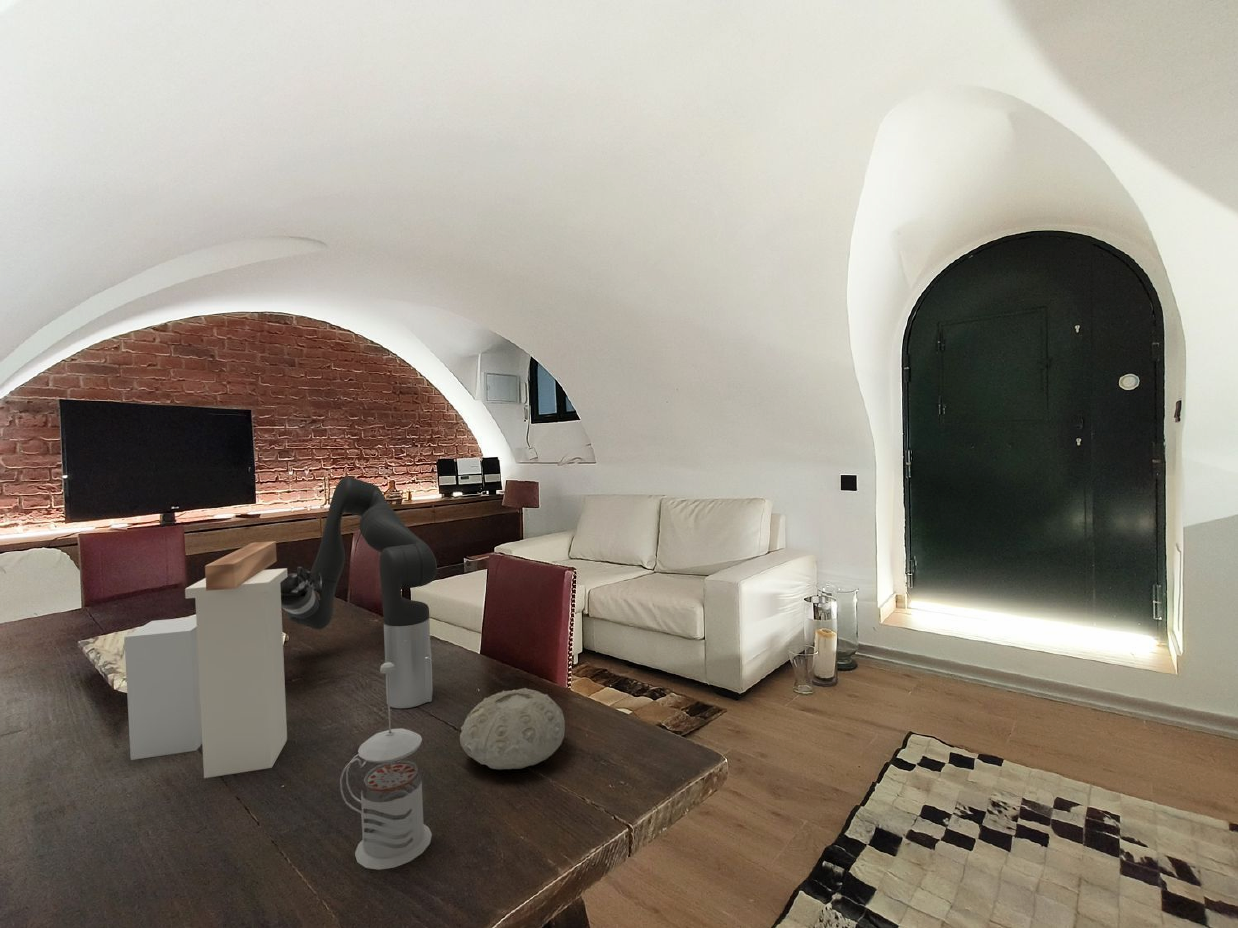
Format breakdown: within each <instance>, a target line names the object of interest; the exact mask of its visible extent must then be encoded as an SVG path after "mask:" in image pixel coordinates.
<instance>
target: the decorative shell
mask: <svg viewBox="0 0 1238 928" xmlns="http://www.w3.org/2000/svg"><path fill="white" fill-rule="evenodd" d="M565 727H566V726H565V716H564V713H563V710H562V708H560V706H559V705H558V703H556V701H554V700H553V698H552V697H550V696H549V695H548V694H547V693H545V694H544V693H542V692H540V691H537V690H535V689H529V688H527V687H524V688H519V689H512V690H502V691H500V692H497V693H495V694H491V695H490V696H488V697H484V698H483V700H482V701H480V702H479V703H478V704H477V705H476V706H474V707H473V708H472V710H470V712H469V713H468V714H467V715H466V718H465V719H464V722H463V725H462V726H461V727H460V730H461V732H460V735H459V742H460V746H461V747H462V749H463V751H464V752H465V754H466V755H467V756H469V757H470V758H472V759H473V760H474V761H476V762H478V763H479V764H480V765H486V766H487V767H488V768H490V769H493V770H512V769H513V770H515V769H516V770H518V769H519V770H520V769H524V768H526V767H531V766H535V765H537V764H539V763H541V762H543V761H546V760H547V759H549V757H551V756H552V755H553V754H554V753H555V752H556V751H557V750H558V749H559V747H560V746H561V745H562V743H563V740H564V738H565V731H566V729H565Z"/></svg>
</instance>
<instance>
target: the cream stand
mask: <svg viewBox="0 0 1238 928" xmlns="http://www.w3.org/2000/svg"><path fill="white" fill-rule="evenodd" d="M287 574H288V568H287V567H286V568H275V569H274V568H273V569H264V570H262V571H261V572H259V573H258V574H256V575H255V576H253V577H252V578H250V579H249V580H247V581H246V582H244V583H243V584H241V585H240V586H238V587H237V588H235V589H223V590H210V591H206V577H204V578H202V579H201V580H198V581H196V582H195V583H193V584H191V585H190V586H188V587H186V588H185V589H184V594H185V595H184V596H185V597H184V598H185V599H195V617H196V623H197V643H198V664H199V684H200V705H201V725H202V744H201V746H202V760H203V761H202V763H203V765H202V766H203V779H208V778H215V777H221V776H225V775H226V776H227V775H233V774H240V773H246V772H252V771H259V770H265V769H272V768H273V766H274V764H275V762H276V761H277V759H278V757H279V755H280V754H281V752H282V750H283V748H284V746H285V745H286V743H287V741H288V730H287V706H286V685H285V682H286V681H285V679H286V678H285V661H284V641H283V640H284V639H283V638H284V637H283V615H282V607H281V588H280V582H282V581H283V580H284V579H285V578H287V577H288V576H287Z"/></svg>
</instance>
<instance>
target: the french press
mask: <svg viewBox="0 0 1238 928" xmlns="http://www.w3.org/2000/svg"><path fill="white" fill-rule="evenodd" d="M394 671H395V666H394V664H392V663H391V662H386V663H385V662H384V663H382V664H381V665H380V668H379V673H380V674H384V675H386V674H387V687H388V705H387V709H388V729H387V730H383V731H380V732H376V733H375V734H374V735H372V736H371V737H369V738H368V739H366V740H365V741H364V742H363V743H361V744H360V746H359V748H358V750H357V752H358V754H356V755H355V756H353V758H352V759H351V760H350V761H349V762H348V763H347V764H346V765H345V767H344V768H343V770H342V772H341V774H340V779H339V789H340V794H341V797H342V799H343V801H344V803H345V804H346V805H347V806H348V807H349V808H350V809H351V810H353V811H355V812H357V813H359V814H360V817H361V818H360V819H361V820H360V821H361V833H362V840H361V841H360V842H358V845H357V847H356V849H355V853H354V855H355V858H356V862H357V863H358V864H360V865H361V866H362V867H364V868H366V869H372V870H386V869H391V868H392V869H393V868H397V867H399V866H402V865H404V864H407V863H410V862H412V861H414V859H415V858H418V856H421V855H422V854H423V853H424V851H425V850H426V849H427V848H428V846H429V845H430V844H431V841H432V836H433V833H432V832H431V829H430V828H429V826H427V825H426V824H424V806H423V805H424V804H423V803H424V802H423V782H422V776H421V774H420V767H419V765H418V763H416V762H413V761H412V760H406V759H405V758H406V757H408V756H410V755H413V754H414V753H415V752H416V751H417V750H418V749H419V748H420V747H421V744H422V741H423V738H422V736H421V735H420V734H419V733H417V732H414V731H412V730H409V729H407V728H402V727H401V728H392V727H391V725H392V723H391V707H390V695H389V673H392V672H394ZM358 757H360V758H361V759H362V760H364V762H363V763H362V760H361V759H360V758H358ZM403 759H405V760H403ZM356 761H358V764H359V768H363V767H364V766H365V765H366V764H367V762H368V763H378V764H379V765H377V766H374V767H373V768H372V769H370V770H368V772H367V773H366V774H364V777H363V779H362V783H363V786H364V788H365V797H364V788H362V789H361V791H360V799H361V800H360V799H359V798H358V797H357V796H355V795H354V793H353V792H352V790H351V787H350V784H349V770H350V767H351V765H352V764H353V763H354V762H356ZM380 763H381V764H380ZM344 774H346V775H345V778H346V779H345V783H346V787H347V790H348V791H349V794H350V797H352V798H353V799H354V800H355V801H356V802H358V803H360V804H361V809H358V808H357V807H354V806H353V805H352V804H351V803H349V801H348V800H347V798H346V797H345V795H344V794H345V793H344V790H343V778H344ZM410 783H411V784H413V785H414V786H415V787H416V788H414V787H413V786H411V785H410ZM403 787H404V788H405V789H408V790H409V791H410V793H409V792H407V791H406V790H398V789H401V788H403ZM385 792H389V793H386V794H385V795H384V796H382V797H381V795H383V794H384V793H385ZM394 796H403V797H400V798H395V799H393V800H389V801H387V800H388V799H390V798H392V797H394ZM365 810H366V812H365ZM410 810H411V811H410ZM382 813H383V814H382ZM365 820H366V821H365ZM366 829H367V831H366Z"/></svg>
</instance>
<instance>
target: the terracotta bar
mask: <svg viewBox="0 0 1238 928" xmlns="http://www.w3.org/2000/svg"><path fill="white" fill-rule="evenodd" d="M277 559H278V558H277V541H275V540H274V541H272V540H271V541H260V542H259V541H258V542H251V543H249V544H247V545H245V546H243V547H241V548H239V549H237V550H235V551H233V552H231V553H229V554H227V555H225V556H222V557H220V558H218V559H216V560H214V561H213V562H209V563H208V564H206V565H204V572H205V578H206V591H210V590H223V589H235V588H237V587H238V586H240V585H241V584H243V583H244V582H246V581H247V580H249V579H250V578H252V577H253V576H255V575H256V574H258V573H259V572H261V571H262V570H266V569H267V568H269V567H271V566H272V565H273V564H274V563H276V562H277Z"/></svg>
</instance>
